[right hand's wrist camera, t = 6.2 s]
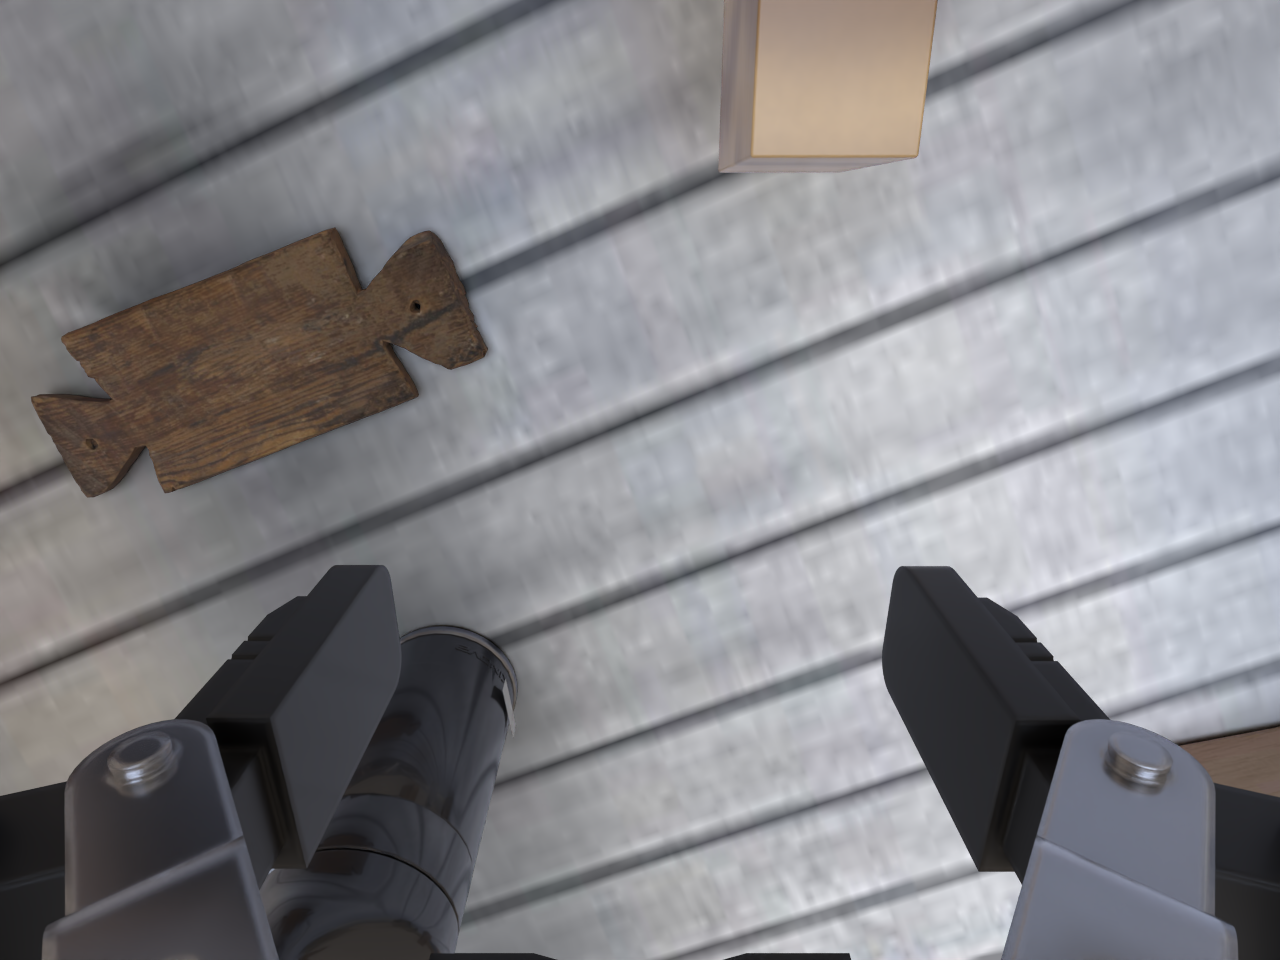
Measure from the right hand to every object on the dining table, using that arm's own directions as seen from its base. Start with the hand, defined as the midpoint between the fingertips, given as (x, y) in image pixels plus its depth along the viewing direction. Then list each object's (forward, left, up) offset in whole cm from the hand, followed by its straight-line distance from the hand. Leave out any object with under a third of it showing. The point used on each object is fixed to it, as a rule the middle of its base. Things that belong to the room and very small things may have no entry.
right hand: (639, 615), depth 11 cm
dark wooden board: (-17, +14, -30) cm, 37 cm away
